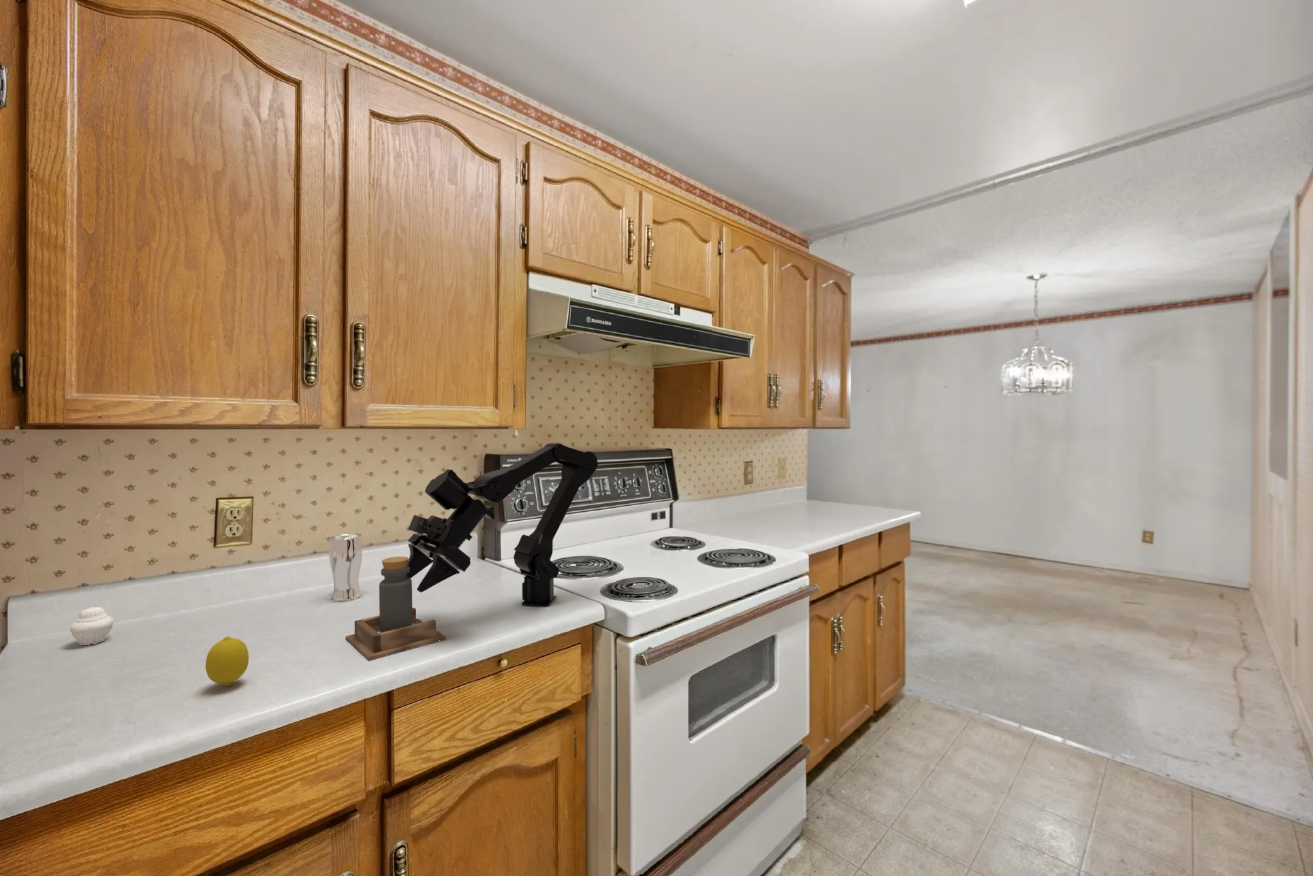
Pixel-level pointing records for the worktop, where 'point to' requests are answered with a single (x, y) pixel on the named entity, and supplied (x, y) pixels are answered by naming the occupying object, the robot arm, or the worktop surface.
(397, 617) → the bottle
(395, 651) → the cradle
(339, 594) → the beer glass
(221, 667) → the lemon
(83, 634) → the muffin
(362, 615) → the worktop surface
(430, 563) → the robot arm
